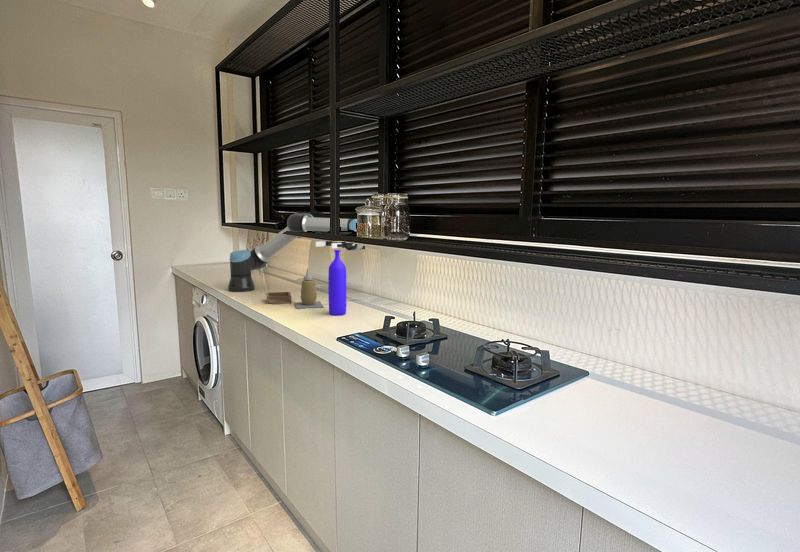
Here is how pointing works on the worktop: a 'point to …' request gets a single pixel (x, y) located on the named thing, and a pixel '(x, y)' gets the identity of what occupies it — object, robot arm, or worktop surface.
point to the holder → (279, 298)
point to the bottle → (337, 286)
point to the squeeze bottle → (308, 290)
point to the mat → (300, 305)
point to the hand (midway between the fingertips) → (323, 245)
